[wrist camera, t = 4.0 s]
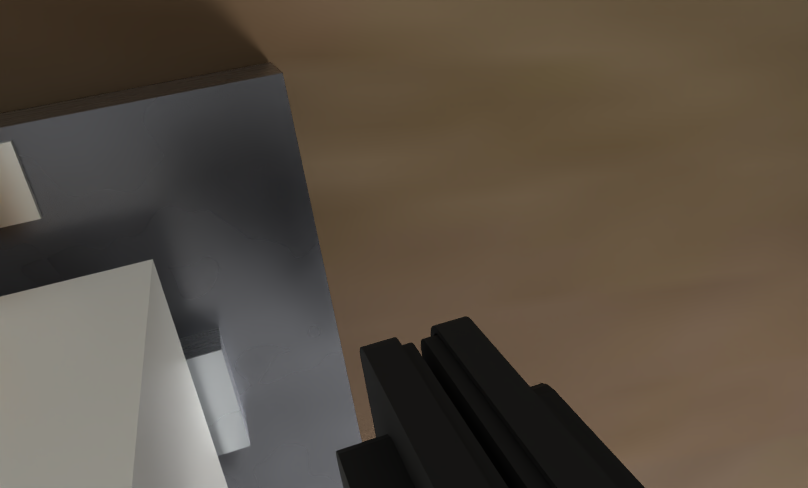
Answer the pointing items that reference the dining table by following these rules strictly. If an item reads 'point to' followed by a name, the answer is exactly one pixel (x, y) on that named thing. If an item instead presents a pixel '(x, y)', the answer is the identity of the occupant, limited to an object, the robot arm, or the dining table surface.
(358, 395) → the dining table surface
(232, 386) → the gauge bench
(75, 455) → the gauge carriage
